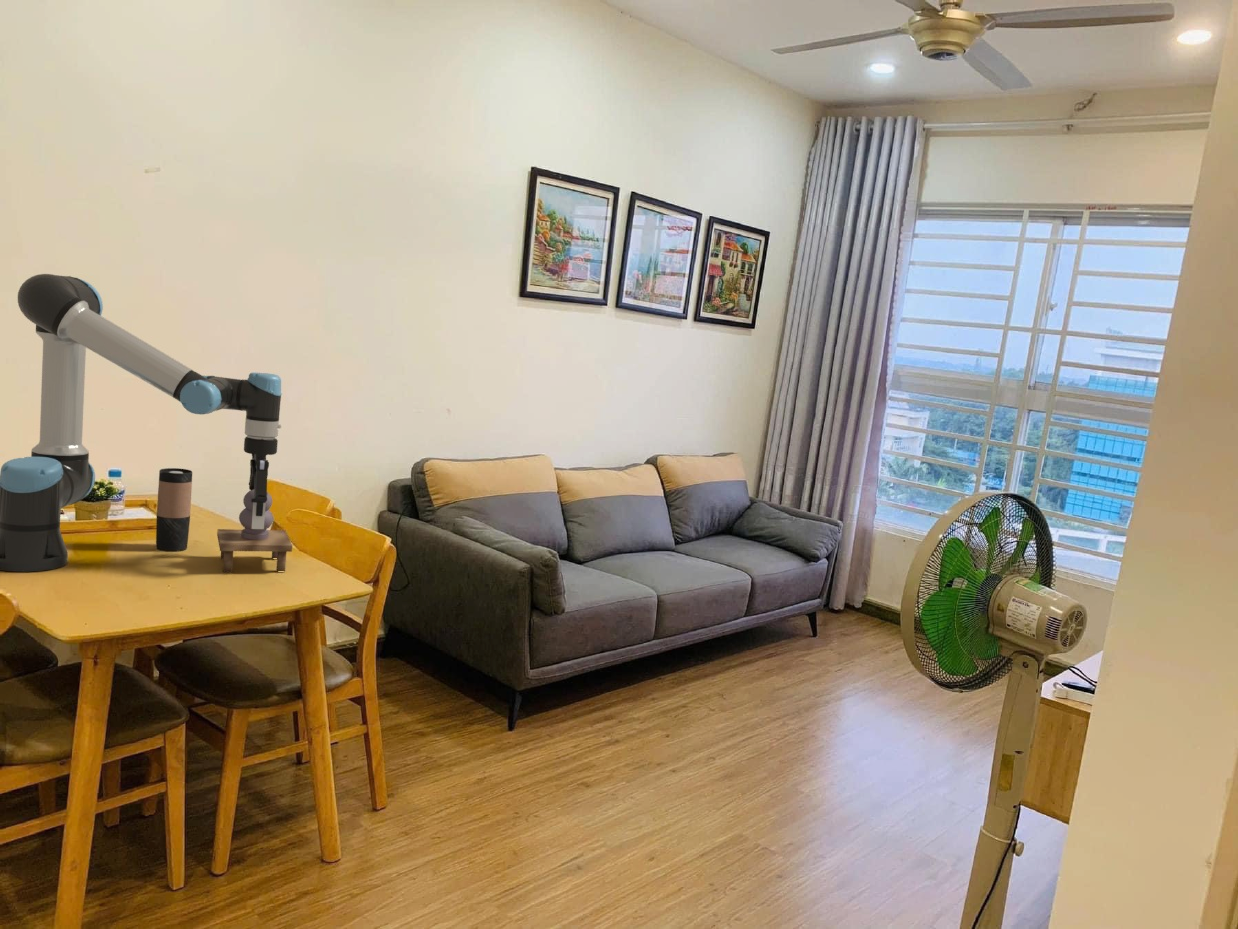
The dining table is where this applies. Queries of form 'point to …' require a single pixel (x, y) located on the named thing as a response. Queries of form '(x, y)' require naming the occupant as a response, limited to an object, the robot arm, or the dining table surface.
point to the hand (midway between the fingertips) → (255, 522)
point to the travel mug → (173, 509)
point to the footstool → (253, 546)
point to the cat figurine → (246, 518)
